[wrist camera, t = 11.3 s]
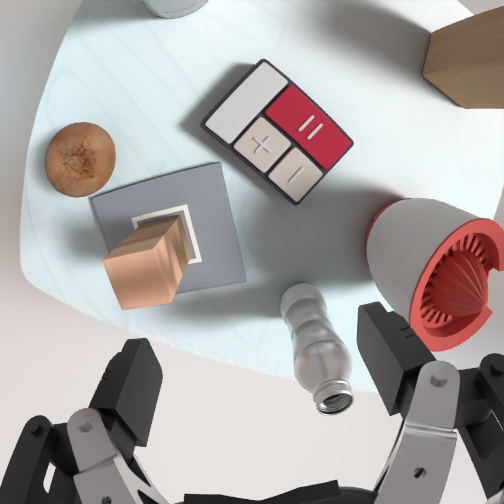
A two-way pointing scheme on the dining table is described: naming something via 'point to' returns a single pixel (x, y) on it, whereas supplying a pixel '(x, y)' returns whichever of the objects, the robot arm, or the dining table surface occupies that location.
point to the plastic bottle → (317, 349)
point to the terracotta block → (144, 270)
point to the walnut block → (176, 234)
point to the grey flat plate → (193, 217)
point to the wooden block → (469, 60)
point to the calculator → (278, 131)
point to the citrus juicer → (435, 267)
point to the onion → (80, 159)
